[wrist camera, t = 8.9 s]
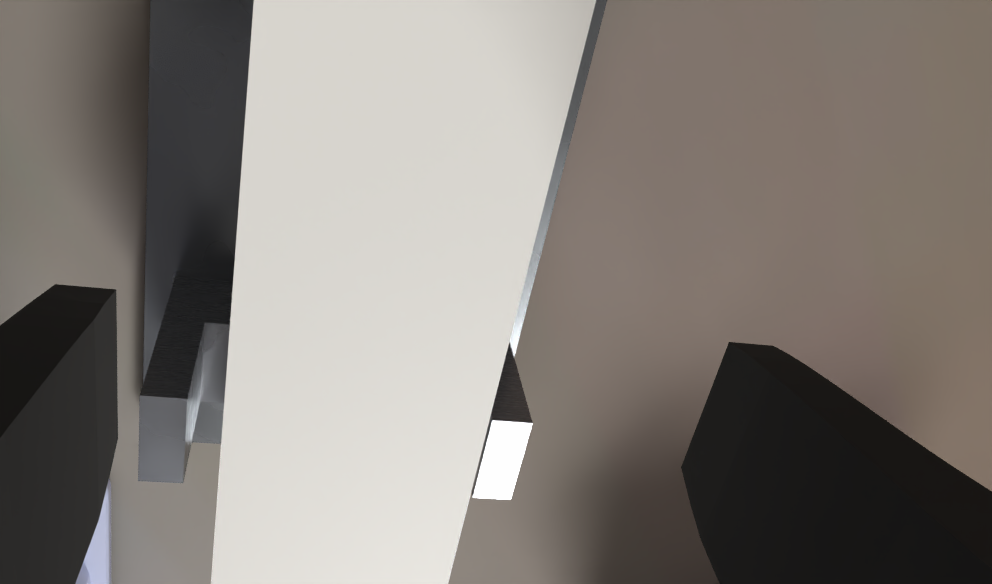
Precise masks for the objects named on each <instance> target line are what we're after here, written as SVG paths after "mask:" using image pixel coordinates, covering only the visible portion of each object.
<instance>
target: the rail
mask: <svg viewBox="0 0 992 584" xmlns="http://www.w3.org/2000/svg"><path fill="white" fill-rule="evenodd" d="M595 3H596V0H254V4H253V17H252V31H251V44H250V58H249V72H248V85H247V99H246V113H245V126H244V140H243V153H242V167H241V181H240V194H239V208H238V222H237V235H236V249H235V263H234V276H233V290H232V303H231V317H230V331H229V344H228V358H227V372H226V385H225V399H224V413H223V426H222V440H221V453H220V467H219V481H218V494H217V508H216V522H215V535H214V549H213V563H212V576H211V584H448V582H449V578H450V574H451V570H452V566H453V562H454V558H455V554H456V550H457V546H458V542H459V538H460V534H461V530H462V526H463V522H464V519H465V515H466V511H467V507H468V503H469V499H470V495H471V491H472V487H473V483H474V479H475V475H476V471H477V467H478V463H479V460H480V456H481V452H482V448H483V444H484V440H485V436H486V432H487V428H488V424H489V420H490V416H491V412H492V408H493V404H494V400H495V397H496V393H497V389H498V385H499V381H500V377H501V373H502V369H503V365H504V361H505V357H506V353H507V349H508V345H509V341H510V338H511V334H512V330H513V326H514V322H515V318H516V314H517V310H518V306H519V302H520V298H521V294H522V290H523V286H524V282H525V278H526V275H527V271H528V267H529V263H530V259H531V255H532V251H533V247H534V243H535V239H536V235H537V231H538V227H539V223H540V219H541V215H542V212H543V208H544V204H545V200H546V196H547V192H548V188H549V184H550V180H551V176H552V172H553V168H554V164H555V160H556V156H557V153H558V149H559V145H560V141H561V137H562V133H563V129H564V125H565V121H566V117H567V113H568V109H569V105H570V101H571V97H572V93H573V90H574V86H575V82H576V78H577V74H578V70H579V66H580V62H581V58H582V54H583V50H584V46H585V42H586V38H587V34H588V31H589V27H590V23H591V19H592V15H593V11H594V7H595Z"/></svg>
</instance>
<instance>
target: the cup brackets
mask: <svg viewBox="0 0 992 584" xmlns="http://www.w3.org/2000/svg"><path fill="white" fill-rule="evenodd" d="M606 2H607V0H596V3H595V7H594V11H593V15H592V19H591V23H590V27H589V31H588V34H587V38H586V42H585V46H584V50H583V54H582V58H581V62H580V66H579V70H578V74H577V78H576V82H575V86H574V90H573V93H572V97H571V101H570V105H569V109H568V113H567V117H566V121H565V125H564V129H563V133H562V137H561V141H560V145H559V149H558V153H557V156H556V160H555V164H554V168H553V172H552V176H551V180H550V184H549V188H548V192H547V196H546V200H545V204H544V208H543V212H542V215H541V219H540V223H539V227H538V231H537V235H536V239H535V243H534V247H533V251H532V255H531V259H530V263H529V267H528V271H527V275H526V278H525V282H524V286H523V290H522V294H521V298H520V302H519V306H518V310H517V314H516V318H515V322H514V326H513V330H512V334H511V338H510V341H509V345H508V349H507V353H506V357H505V361H504V365H503V369H502V373H501V377H500V381H499V385H498V389H497V393H496V397H495V400H494V404H493V408H492V412H491V416H490V420H489V424H488V428H487V432H486V436H485V440H484V444H483V448H482V452H481V456H480V460H479V463H478V467H477V471H476V475H475V479H474V483H473V487H472V497H473V498H487V499H507V500H511V497H512V494H513V490H514V487H515V483H516V480H517V476H518V473H519V469H520V466H521V462H522V458H523V455H524V451H525V448H526V444H527V441H528V437H529V434H530V430H531V427H532V420H531V416H530V413H529V409H528V405H527V402H526V398H525V395H524V391H523V388H522V384H521V381H520V377H519V373H518V370H517V366H516V363H515V359H514V356H515V352H516V348H517V345H518V341H519V337H520V333H521V329H522V325H523V321H524V318H525V314H526V310H527V306H528V302H529V298H530V295H531V291H532V287H533V283H534V279H535V275H536V271H537V268H538V264H539V260H540V256H541V252H542V248H543V245H544V241H545V237H546V233H547V229H548V225H549V222H550V218H551V214H552V210H553V206H554V202H555V198H556V195H557V191H558V187H559V183H560V179H561V175H562V172H563V168H564V164H565V160H566V156H567V152H568V148H569V145H570V141H571V137H572V133H573V129H574V125H575V122H576V118H577V114H578V110H579V106H580V102H581V98H582V95H583V91H584V87H585V83H586V79H587V75H588V72H589V68H590V64H591V60H592V56H593V52H594V48H595V45H596V41H597V37H598V33H599V29H600V25H601V22H602V18H603V14H604V10H605V6H606ZM253 4H254V0H150V52H149V105H148V157H147V209H146V261H145V314H144V366H143V386H142V390H141V393H140V408H139V467H138V481H150V482H170V483H183V482H184V477H185V472H186V467H187V462H188V457H189V453H190V448H191V443H192V442H199V443H216V444H221V440H222V426H223V413H224V399H225V385H226V372H227V358H228V344H229V331H230V317H231V303H232V290H233V276H234V263H235V249H236V235H237V222H238V208H239V194H240V181H241V167H242V153H243V140H244V126H245V113H246V99H247V85H248V72H249V58H250V44H251V31H252V17H253Z"/></svg>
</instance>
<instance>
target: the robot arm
mask: <svg viewBox="0 0 992 584" xmlns="http://www.w3.org/2000/svg"><path fill="white" fill-rule="evenodd" d="M117 440H118V413H117V321H116V290H115V289H103V288H92V287H80V286H68V285H57V284H55V285H54V286H52V287H51V288H50V289H48V290H47V291H46V292H44V293H43V294H41V295H40V296H39V297H37V298H36V299H35V300H33V301H32V302H30V303H29V304H28V305H26V306H25V307H24V308H23V309H21V310H20V311H19V312H17V313H16V314H15V315H13V316H12V317H11V318H9V319H8V320H7V321H6V322H4V323H3V324H2V325H0V584H111V483H110V479H109V475H110V471H111V466H112V462H113V457H114V453H115V449H116V444H117ZM681 468H682V472H683V476H684V480H685V484H686V488H687V492H688V496H689V500H690V504H691V507H692V511H693V514H694V518H695V521H696V524H697V528H698V531H699V534H700V538H701V540H702V543H703V545H704V548H705V550H706V553H707V555H708V557H709V560H710V562H711V564H712V567H713V569H714V571H715V574H716V576H717V578H718V581H719V583H720V584H992V491H990V490H988V489H987V488H985V487H984V486H982V485H981V484H979V483H978V482H976V481H974V480H973V479H971V478H970V477H968V476H967V475H965V474H963V473H962V472H960V471H959V470H957V469H956V468H954V467H953V466H951V465H950V464H948V463H947V462H945V461H944V460H942V459H941V458H939V457H938V456H936V455H935V454H933V453H932V452H930V451H929V450H927V449H926V448H925V447H923V446H922V445H920V444H919V443H917V442H916V441H914V440H913V439H912V438H910V437H909V436H907V435H906V434H904V433H903V432H901V431H900V430H899V429H897V428H896V427H894V426H893V425H891V424H890V423H889V422H887V421H886V420H884V419H883V418H882V417H880V416H879V415H877V414H876V413H874V412H873V411H872V410H870V409H869V408H867V407H866V406H865V405H863V404H862V403H860V402H859V401H857V400H856V399H855V398H853V397H852V396H850V395H849V394H847V393H846V392H845V391H843V390H842V389H840V388H839V387H838V386H836V385H835V384H833V383H832V382H830V381H829V380H827V379H826V378H824V377H823V376H822V375H820V374H819V373H817V372H816V371H814V370H813V369H811V368H810V367H808V366H807V365H805V364H803V363H802V362H800V361H799V360H797V359H795V358H794V357H792V356H791V355H789V354H787V353H785V352H784V351H782V350H780V349H778V348H776V347H774V346H768V345H757V344H745V343H733V342H729V344H728V346H727V349H726V352H725V354H724V357H723V359H722V362H721V365H720V367H719V370H718V373H717V375H716V378H715V380H714V383H713V386H712V388H711V391H710V394H709V396H708V399H707V401H706V404H705V407H704V409H703V412H702V414H701V417H700V420H699V422H698V425H697V428H696V430H695V433H694V435H693V438H692V441H691V443H690V446H689V448H688V451H687V454H686V456H685V459H684V462H683V464H682V467H681Z"/></svg>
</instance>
